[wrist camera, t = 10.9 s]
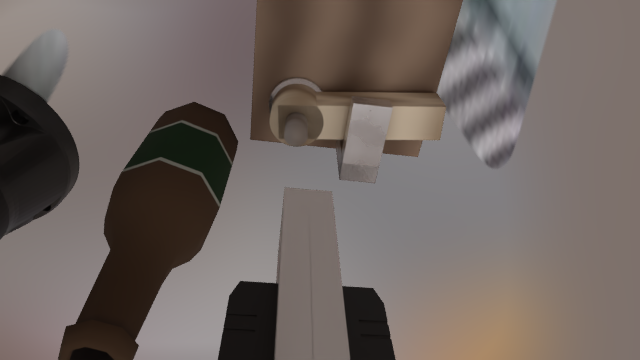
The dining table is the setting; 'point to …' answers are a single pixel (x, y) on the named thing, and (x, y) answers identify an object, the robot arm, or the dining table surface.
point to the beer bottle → (153, 227)
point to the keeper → (356, 134)
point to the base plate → (350, 51)
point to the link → (333, 108)
